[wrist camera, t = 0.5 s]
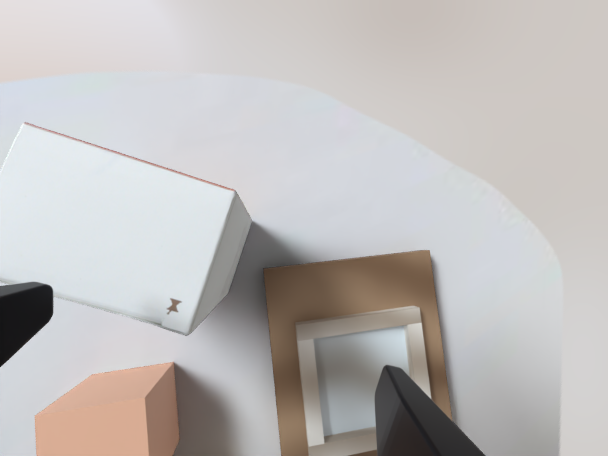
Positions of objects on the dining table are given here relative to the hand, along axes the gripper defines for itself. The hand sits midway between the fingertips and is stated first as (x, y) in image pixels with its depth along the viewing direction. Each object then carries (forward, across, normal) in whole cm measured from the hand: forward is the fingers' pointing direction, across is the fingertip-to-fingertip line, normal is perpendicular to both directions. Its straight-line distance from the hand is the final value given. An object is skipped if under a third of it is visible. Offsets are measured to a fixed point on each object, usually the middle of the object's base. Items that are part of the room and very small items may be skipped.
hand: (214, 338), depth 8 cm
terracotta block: (+9, +7, +13) cm, 17 cm away
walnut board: (+12, -7, +9) cm, 17 cm away
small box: (+13, +7, +2) cm, 14 cm away
